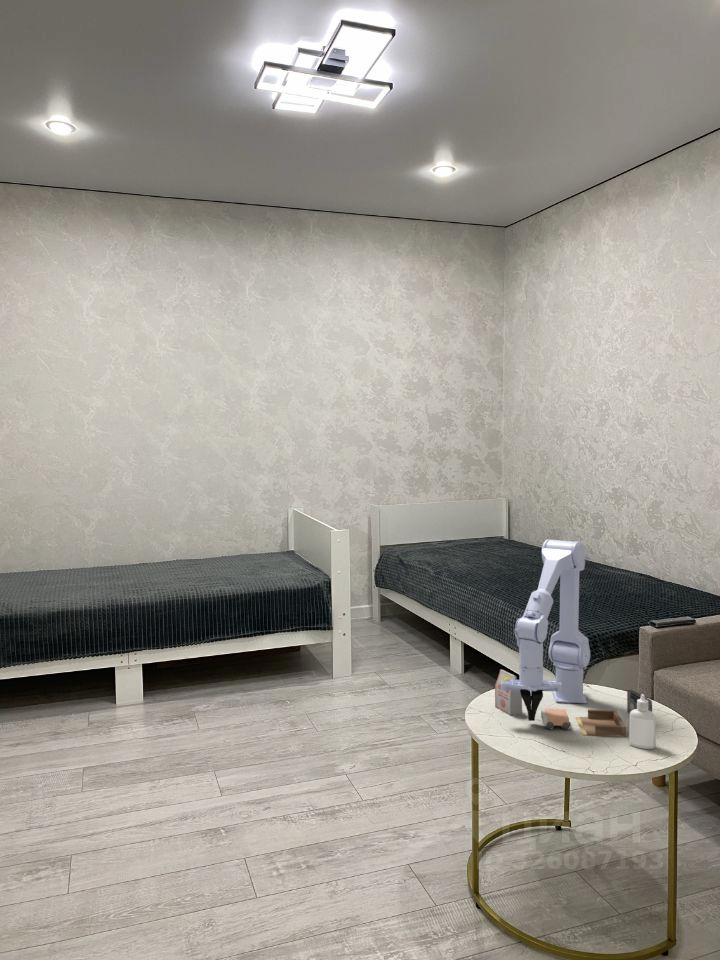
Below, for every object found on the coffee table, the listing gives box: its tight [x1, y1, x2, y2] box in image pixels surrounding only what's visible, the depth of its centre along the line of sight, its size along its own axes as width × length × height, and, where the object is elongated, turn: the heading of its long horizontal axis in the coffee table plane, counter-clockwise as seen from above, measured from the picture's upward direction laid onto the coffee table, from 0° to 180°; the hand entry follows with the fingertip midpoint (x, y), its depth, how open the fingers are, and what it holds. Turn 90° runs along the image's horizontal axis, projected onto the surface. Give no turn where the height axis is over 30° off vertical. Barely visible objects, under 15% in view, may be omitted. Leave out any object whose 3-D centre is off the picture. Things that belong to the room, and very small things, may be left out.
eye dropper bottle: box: [628, 693, 657, 750], centre depth 171 cm, size 4×6×12 cm
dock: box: [575, 708, 627, 738], centre depth 183 cm, size 11×10×2 cm
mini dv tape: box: [626, 689, 653, 715], centre depth 188 cm, size 8×2×6 cm, turn 14°
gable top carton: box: [494, 669, 523, 716], centre depth 195 cm, size 4×7×10 cm, turn 24°
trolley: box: [540, 708, 572, 730], centre depth 184 cm, size 7×6×3 cm
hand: (531, 719), depth 185 cm, fingers closed
